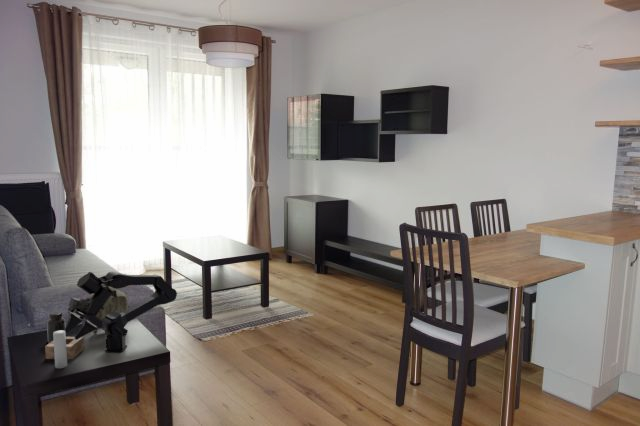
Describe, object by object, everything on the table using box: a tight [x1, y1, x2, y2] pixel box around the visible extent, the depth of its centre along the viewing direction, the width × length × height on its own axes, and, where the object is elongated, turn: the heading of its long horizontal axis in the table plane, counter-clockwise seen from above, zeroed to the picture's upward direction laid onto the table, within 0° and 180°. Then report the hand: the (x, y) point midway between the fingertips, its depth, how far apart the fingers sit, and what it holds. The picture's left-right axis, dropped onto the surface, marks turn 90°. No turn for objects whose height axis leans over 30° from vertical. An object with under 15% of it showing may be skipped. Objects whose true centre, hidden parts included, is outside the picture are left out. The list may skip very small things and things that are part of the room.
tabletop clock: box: [88, 284, 129, 334], centre depth 222 cm, size 14×9×25 cm, turn 133°
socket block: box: [44, 336, 85, 360], centre depth 200 cm, size 10×10×5 cm
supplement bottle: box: [46, 310, 67, 344], centre depth 213 cm, size 7×7×12 cm
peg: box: [53, 330, 68, 369], centre depth 189 cm, size 4×4×13 cm
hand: (70, 335), depth 191 cm, fingers open, 9 cm apart
